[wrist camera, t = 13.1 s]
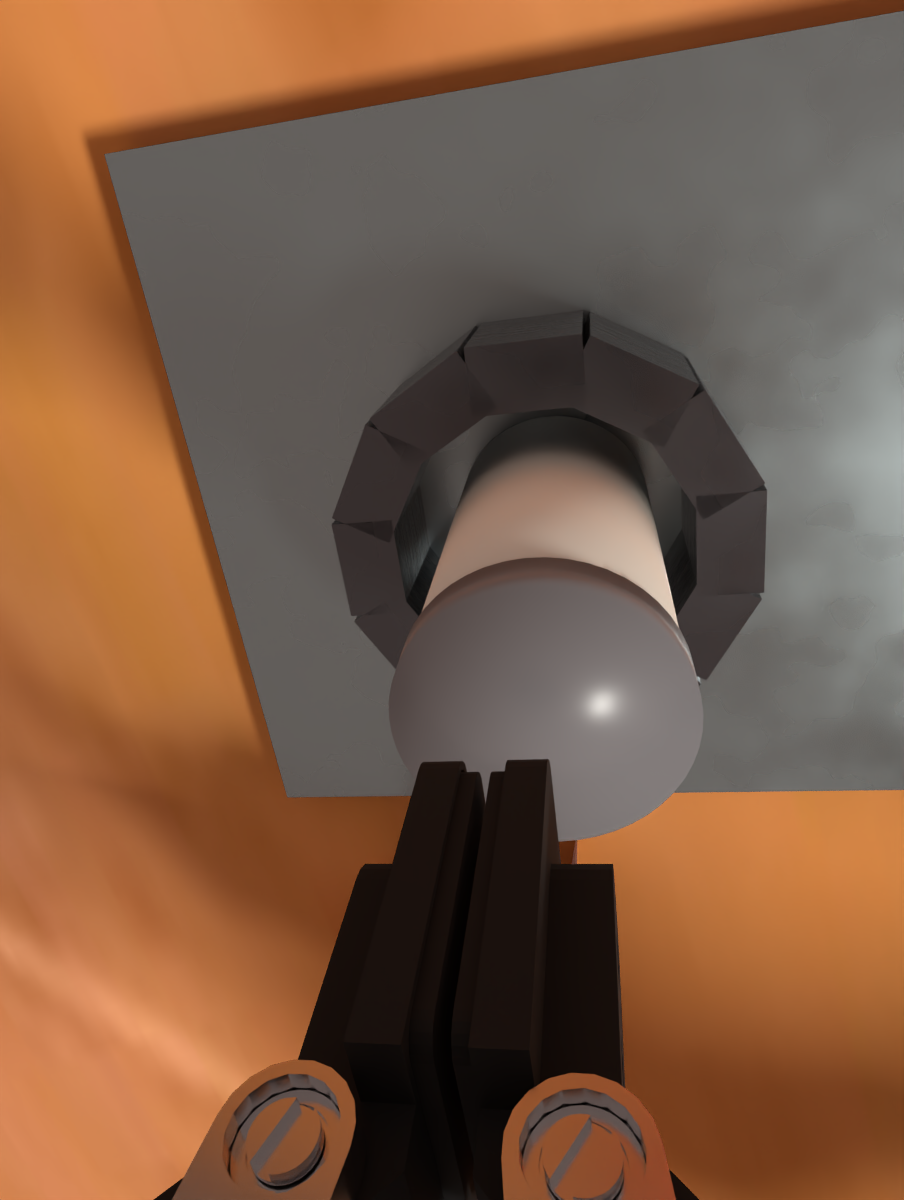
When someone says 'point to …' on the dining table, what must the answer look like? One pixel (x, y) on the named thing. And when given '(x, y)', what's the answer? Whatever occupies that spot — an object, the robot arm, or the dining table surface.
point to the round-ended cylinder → (554, 632)
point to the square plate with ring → (559, 375)
